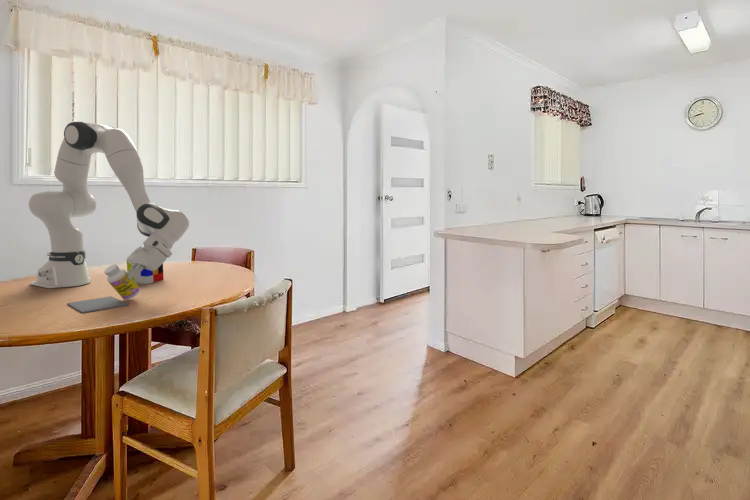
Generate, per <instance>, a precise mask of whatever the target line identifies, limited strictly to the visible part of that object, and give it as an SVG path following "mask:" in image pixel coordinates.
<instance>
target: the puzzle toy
mask: <svg viewBox="0 0 750 500" xmlns="http://www.w3.org/2000/svg"><path fill="white" fill-rule="evenodd" d="M131 267H132V264H130V263H129V262H128V261H127V260H126V270H127V271H126V272H127V273H128V272H129V271H130V269H131ZM130 277H131V278H132V279H133V280H134V281H135V282H136V284H143V285H144V284H145V285H149V284H153V283H156V281H157V282H159V281H163V280H164V278H165V277H164V263H163V264H162V265H161V266H160V267H159V268H158V269H156V270H155V271H151V270H147V269H143V270H142V271H141V272H139V273H138V274H136V276H135V277H132V276H130Z"/></svg>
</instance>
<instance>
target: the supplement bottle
mask: <svg viewBox="0 0 750 500" xmlns="http://www.w3.org/2000/svg"><path fill="white" fill-rule="evenodd" d="M103 273H104V274H105V275H106V276H107V278H106V280H107V282H108V283H109V284H110V286H111V287H112V288H113V289H114V290H115V292H116V293H118V295H119V296H120V297H121V298H122V299H123V300H125V301H128V300H131V299H133V298H135V297H136V296H137V295H138V294H139V293H140V292H141V287H140V286H139V285H138V283H136V282H135V281H134V280H133V279H132V278H131V277H130V275H129V274H128V273H127V271H126V270H125V269H123V268H120V267H119V265H118V264H117V263H115V264H112V265H110V266H108V267H106V268H105V270H104V271H103Z"/></svg>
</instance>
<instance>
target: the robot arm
mask: <svg viewBox="0 0 750 500" xmlns="http://www.w3.org/2000/svg"><path fill="white" fill-rule="evenodd" d="M95 153H101V154H102V153H103V154H104V156H105V158H106V159H107V162H108V164H109V167H110V168H111V170H112V171H113V173H114V175H115V176H116V178H117V179H118V180H119V182H120V183H121V184H122V186H123V188H124V190H125V191H126V192H127V194H128V196H129V199H130V201H131V203H132V206H133V208H134V209H135V213H136V221H137V224H136V227H137V229H138V230H137V231H138V232H139V233H140V235H143V236H145V237H147V238H146V239H145V240H144V241H143V242H142V245H143V246H142V245H141V246H138V247H136V249H134V251H132V252H131V253H130V254H129V255H128V256H127V258H126V262H127V261H128V262H129V263H130V264H132V267H131V269H130V271H129V272H128V274H129V275H130V276H132V277H135V276H136V274H138V273H139V272H141V271H142V270H143V269H147V270H151V271H155V270H156V269H158V268H159V267H160V266H161V265H162V264H163V265H164V263H165V262H166V261H167V258H170V257H171V256H172V255H173V253H172V251H171V249H172V248H173V246H174V245H175V243H176V242H178V241H179V240H180V239H181V238H182V237H183V236H184V235H185V233H186V232H187V230H188V229H189V227H190V221H189V219H188V218H187V216H186V215H185V214H184V213H183V212H182V211H180V210H177V209H168V208H164V207H162V206H159V205H158V204H156V203H151V201H150V198H149V196H148V193H147V191H146V188H145V180H144V176H145V175H144V167H143V163H142V159H141V156H140V154H139V152H138V150H137V148H136V146H135V144H134V142H133V141H132V139H131V138H130V136H129V134H128V133H126V131H124V130H123V129H121V128H116V127H114V126H107V125H104V124H99V123H91V122H84V121H71V122H69V123H68V124H66V126H65V128H64V131H63V140H62V142H61V144H60V147H59V149H58V153H57V157H56V163H55V167H54V172H53V173H54V177H55V178H56V179H57V180H58V181H59V182H60V183H61V184H62V190H61V191H60V190H59V191H58V190H56V191H54V190H53V191H51V190H50V191H47V190H46V191H42V192H36V193H34V194H32V195H31V197H30V198H29V200H28V209H29V211H30V212H31V214H32V215H33V216H34V217H36V218H37V219H39V220H40V221H41V222H42V223H43V224H44V225H45V227H46V228H47V231H48V235H49V239H50V247H51V251H50V252H47V253H46V254H47V255H46V256H47V257H48V261H47V262H46V263H44V264H43V265H42V266H41V267H40V268H39V269H37V272H36V273H37V274H36V278H37V279H36V280H32V281H30V285H31V286H36V287H41V288H46V289H57V288H69V287H79V286H82V285H87V284H90V283H91V280H92V277H90V273H89V269H88V264H87V262H86V260H85V259H86V257H87V256H86V250H85V249H84V239H83V238H84V236H83V232H82V230H81V229H79V228H77V227H75V226H74V225H73V223H72V222H71V218H83V217H85V216H89V215H92V214H93V213H94V212H95V211H96V208H97V202H96V199H95V197H94V196H93V195H92V194H91V193H90V191H89V187H88V177H89V171H90V166H91V162H92V157H93V154H95Z"/></svg>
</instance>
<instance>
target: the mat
mask: <svg viewBox="0 0 750 500" xmlns="http://www.w3.org/2000/svg"><path fill="white" fill-rule="evenodd" d="M67 305H68V306H70V307H71V308H72V309H74V310H76V311H78V312H79V313H81V314H86V313H93V312H96V311H98V312H99V311H104V310H108V309H114V308H121V307H122V308H123V307H127V306H129V303H127V302H125V301H123V300H120V299H118V298H116V297H114V296H112V295H110V296H104V297H99V298H92V299H86V300H77V301H73V302H72V301H71V302H67Z"/></svg>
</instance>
